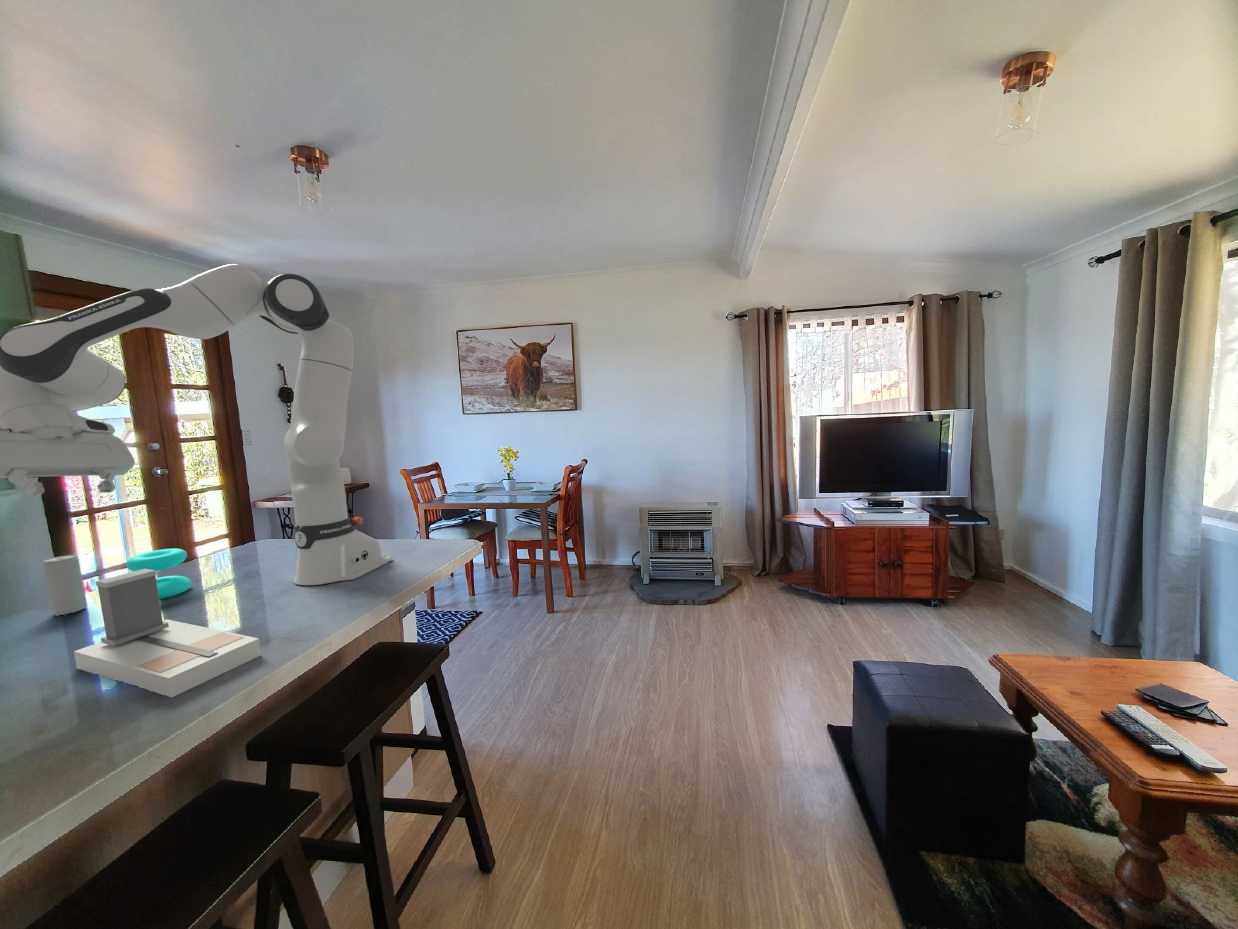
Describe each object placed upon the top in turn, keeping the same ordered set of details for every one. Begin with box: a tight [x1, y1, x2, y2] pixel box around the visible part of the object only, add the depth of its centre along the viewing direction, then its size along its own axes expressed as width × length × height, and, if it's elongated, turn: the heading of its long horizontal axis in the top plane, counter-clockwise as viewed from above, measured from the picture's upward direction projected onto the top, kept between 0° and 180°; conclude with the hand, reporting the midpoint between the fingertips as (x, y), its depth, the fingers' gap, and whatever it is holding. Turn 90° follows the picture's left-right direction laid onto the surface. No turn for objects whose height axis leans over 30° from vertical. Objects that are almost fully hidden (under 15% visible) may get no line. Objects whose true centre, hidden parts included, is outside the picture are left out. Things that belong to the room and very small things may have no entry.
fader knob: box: [95, 569, 169, 646], centre depth 78 cm, size 4×7×10 cm, turn 160°
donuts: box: [125, 547, 192, 600], centre depth 107 cm, size 10×10×10 cm
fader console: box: [73, 619, 262, 699], centre depth 76 cm, size 26×12×3 cm, turn 70°
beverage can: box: [42, 554, 87, 617], centre depth 98 cm, size 5×5×12 cm
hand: (74, 492), depth 83 cm, fingers open, 8 cm apart
